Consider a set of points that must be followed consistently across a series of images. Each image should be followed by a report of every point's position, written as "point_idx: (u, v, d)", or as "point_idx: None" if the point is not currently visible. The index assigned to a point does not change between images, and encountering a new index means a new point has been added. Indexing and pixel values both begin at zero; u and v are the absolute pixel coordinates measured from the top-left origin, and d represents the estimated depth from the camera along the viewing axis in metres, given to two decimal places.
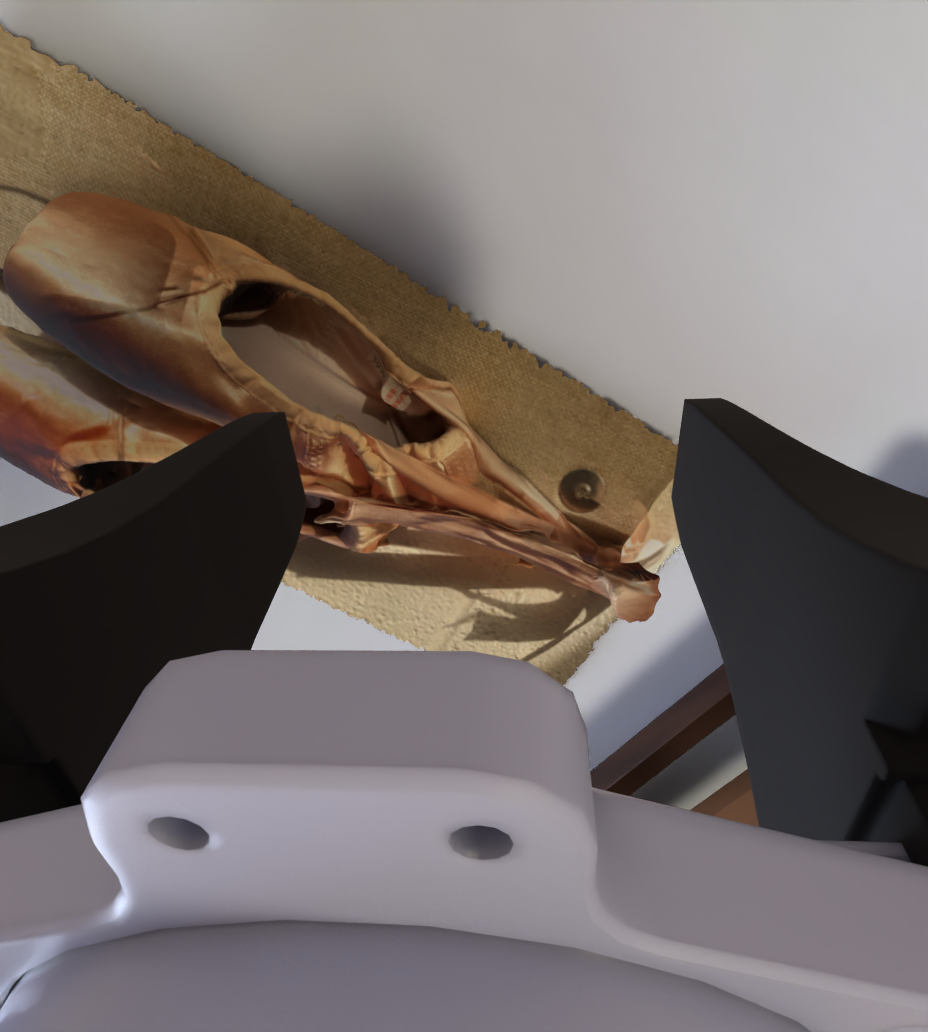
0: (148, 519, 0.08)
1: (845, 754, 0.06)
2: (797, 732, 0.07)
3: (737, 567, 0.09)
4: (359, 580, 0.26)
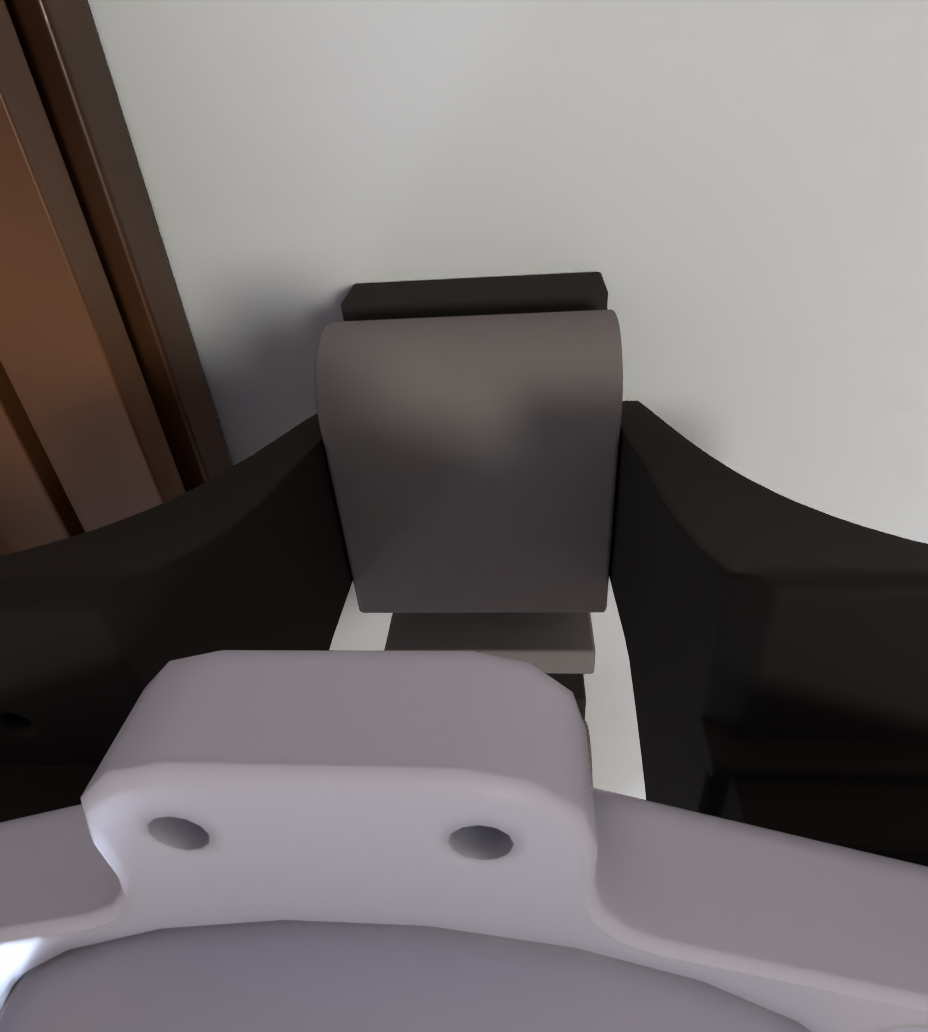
0: (254, 516, 0.08)
1: (692, 752, 0.06)
2: (668, 730, 0.07)
3: (635, 568, 0.09)
4: None
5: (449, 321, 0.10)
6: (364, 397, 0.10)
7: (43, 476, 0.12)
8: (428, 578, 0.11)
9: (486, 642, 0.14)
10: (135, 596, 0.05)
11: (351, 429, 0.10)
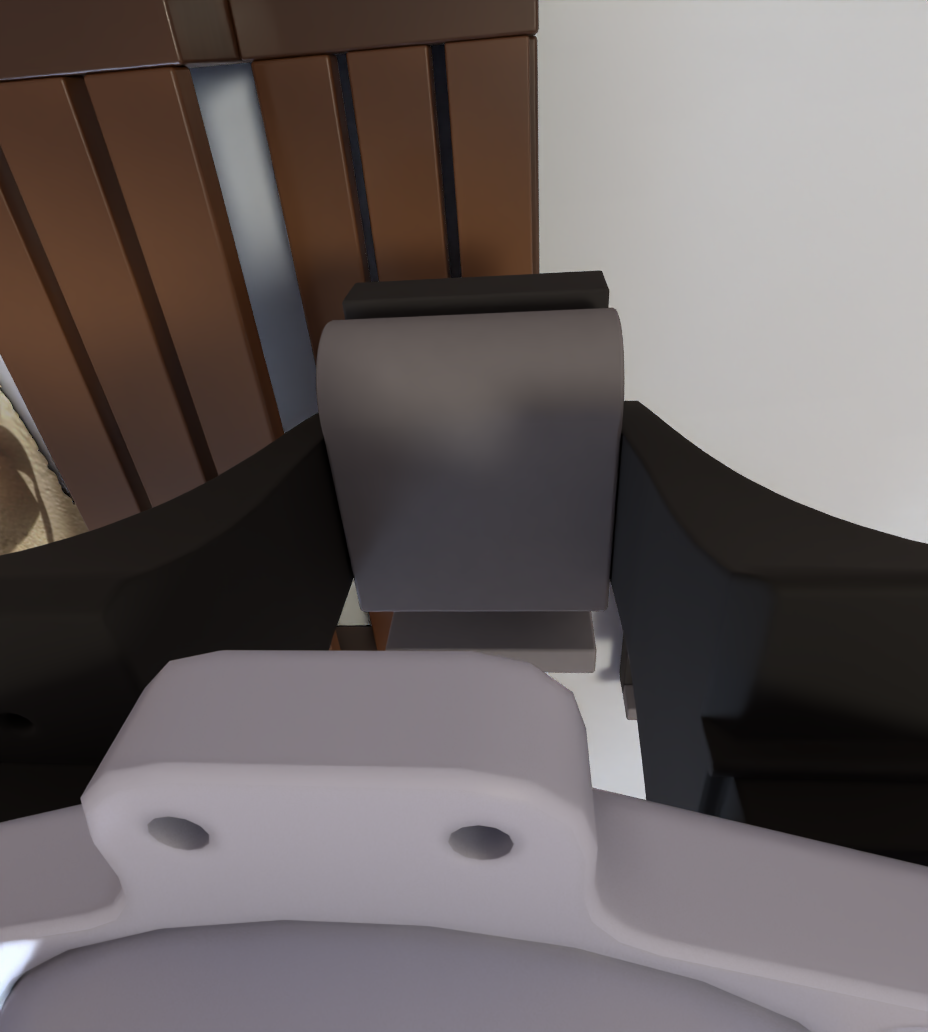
0: (253, 517, 0.08)
1: (692, 751, 0.06)
2: (668, 730, 0.07)
3: (635, 568, 0.09)
4: None
5: (450, 319, 0.10)
6: (365, 395, 0.10)
7: None
8: (429, 577, 0.11)
9: (487, 641, 0.14)
10: (135, 597, 0.05)
11: (352, 427, 0.10)
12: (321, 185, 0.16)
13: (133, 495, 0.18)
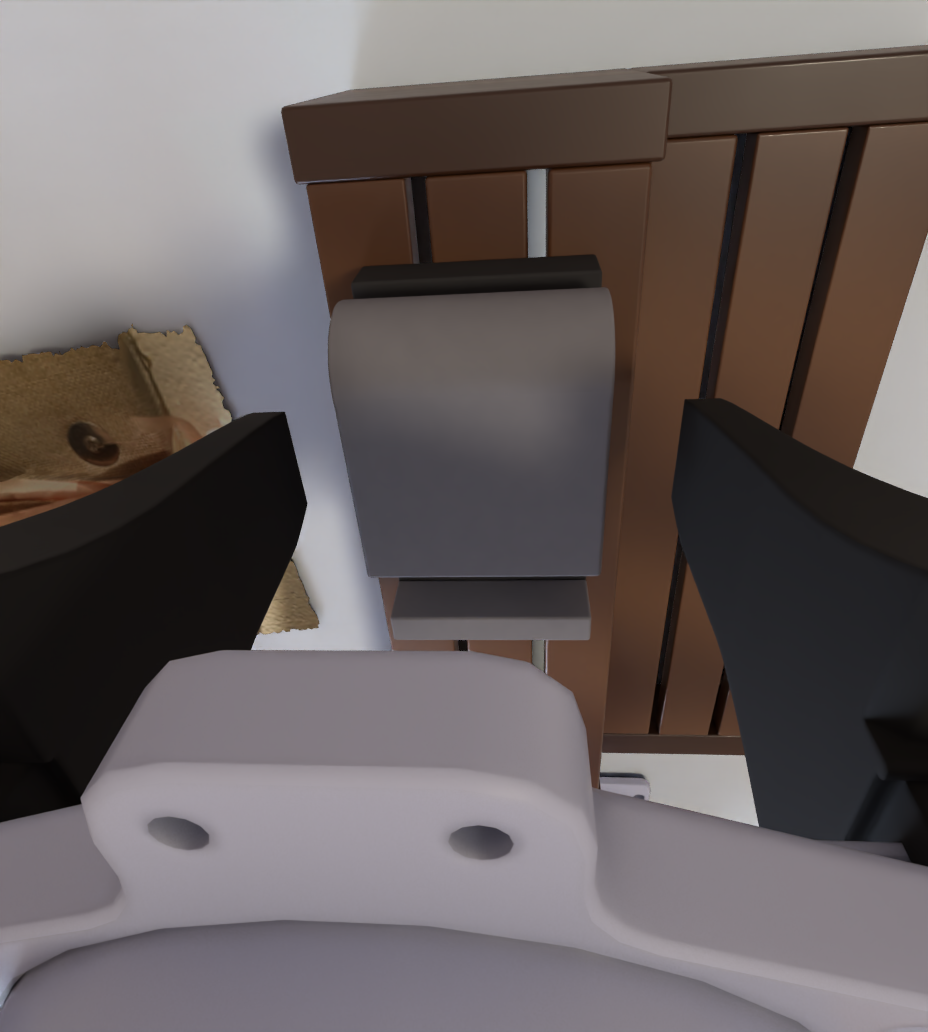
0: (149, 519, 0.08)
1: (845, 754, 0.06)
2: (797, 732, 0.07)
3: (737, 567, 0.09)
4: None
5: (453, 298, 0.10)
6: (374, 368, 0.10)
7: None
8: (433, 543, 0.12)
9: (487, 610, 0.15)
10: None
11: (361, 399, 0.10)
12: (688, 265, 0.15)
13: None
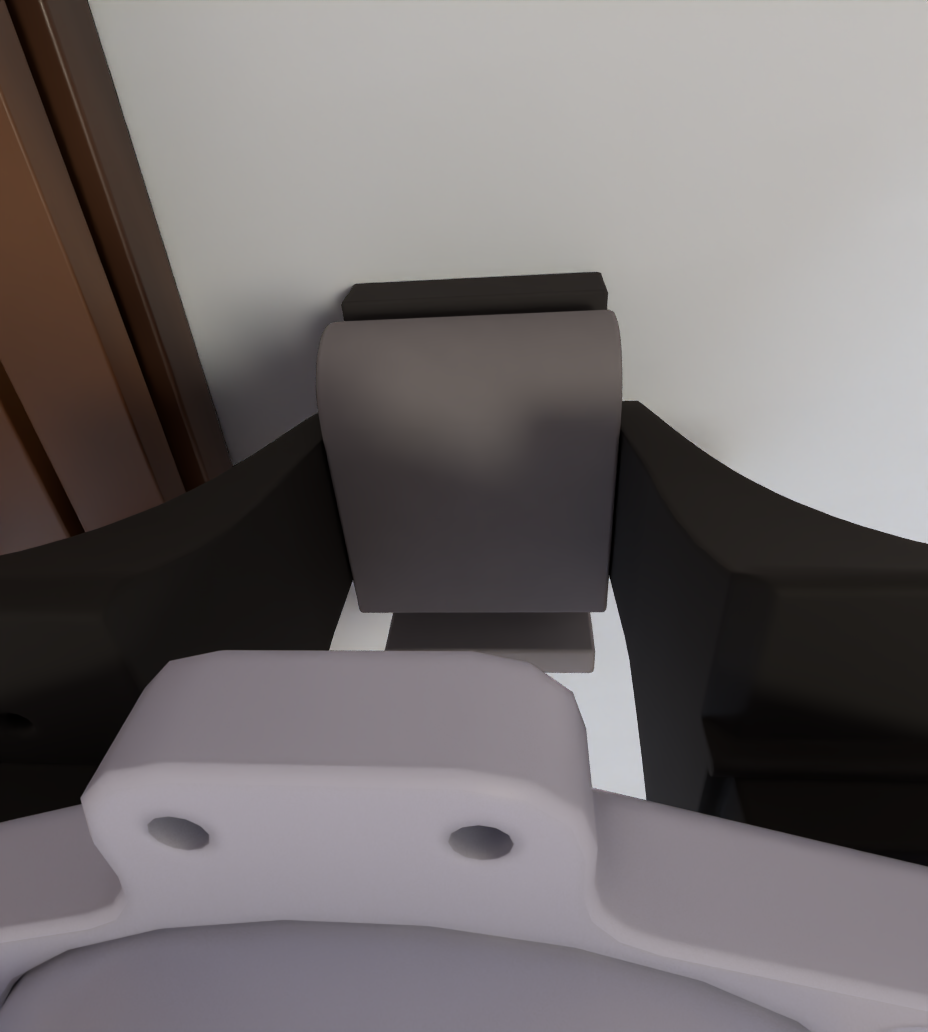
0: (254, 517, 0.08)
1: (692, 751, 0.06)
2: (668, 730, 0.07)
3: (635, 568, 0.09)
4: None
5: None
6: None
7: None
8: None
9: None
10: (134, 596, 0.05)
11: None
12: None
13: None
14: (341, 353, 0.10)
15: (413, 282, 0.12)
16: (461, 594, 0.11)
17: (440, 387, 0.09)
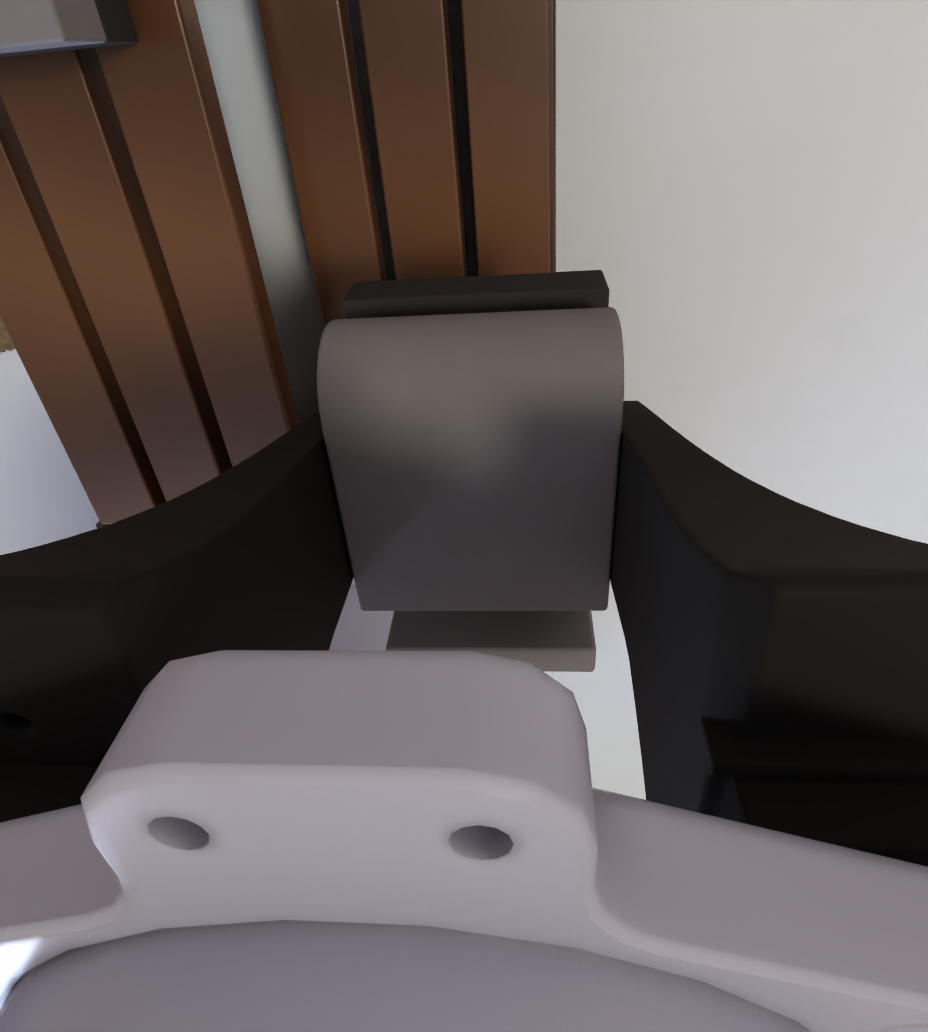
0: (254, 517, 0.08)
1: (692, 751, 0.06)
2: (668, 730, 0.07)
3: (635, 568, 0.09)
4: None
5: None
6: None
7: None
8: None
9: None
10: (135, 596, 0.05)
11: None
12: None
13: None
14: (342, 350, 0.10)
15: (414, 280, 0.12)
16: (462, 592, 0.11)
17: (441, 384, 0.09)
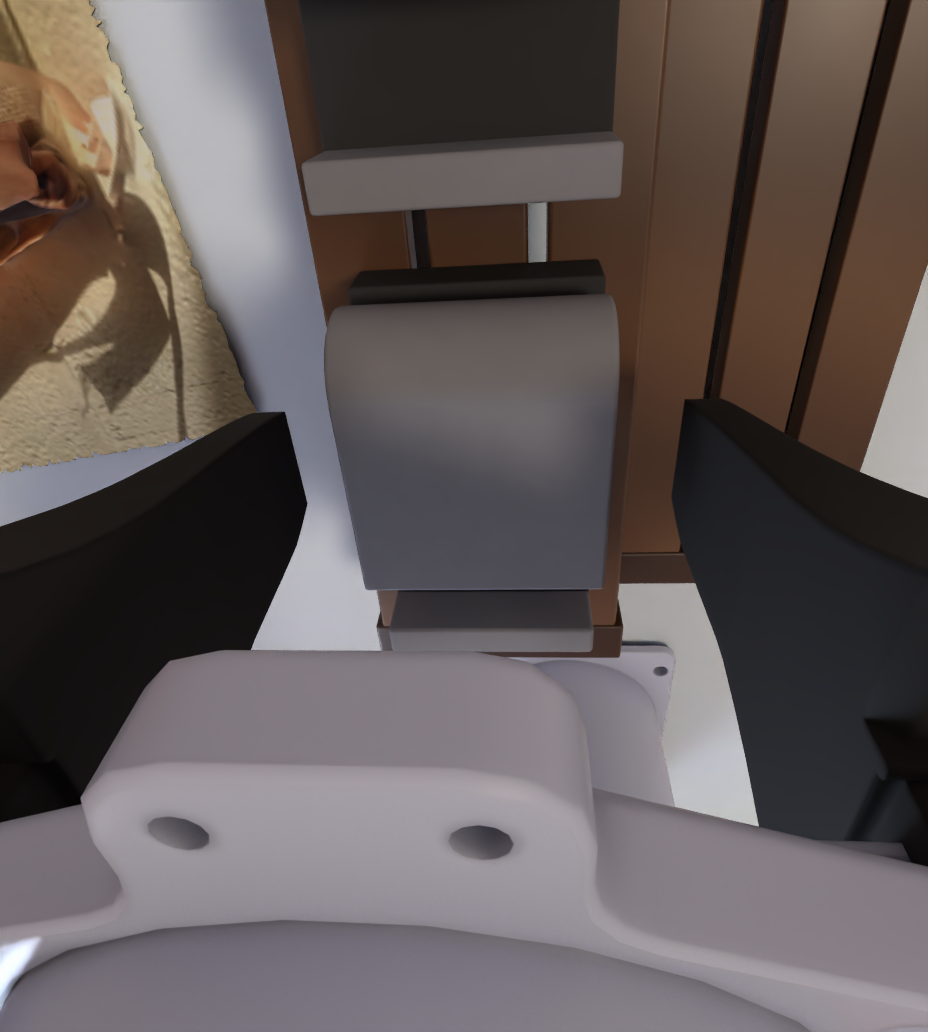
0: (149, 519, 0.08)
1: (845, 754, 0.06)
2: (797, 732, 0.07)
3: (737, 567, 0.09)
4: None
5: None
6: None
7: (875, 34, 0.12)
8: None
9: (456, 150, 0.09)
10: None
11: None
12: None
13: None
14: (349, 335, 0.10)
15: (417, 269, 0.12)
16: (464, 571, 0.12)
17: (444, 367, 0.10)
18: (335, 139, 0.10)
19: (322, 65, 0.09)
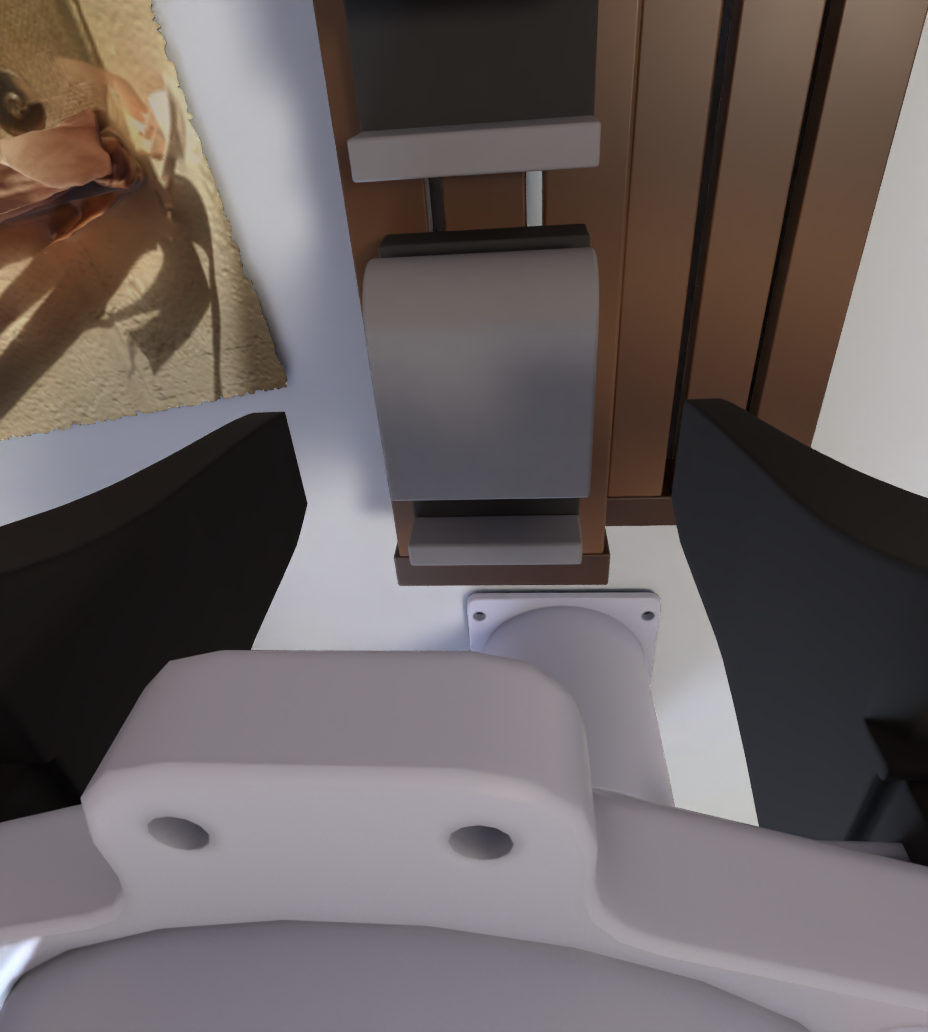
0: (148, 519, 0.08)
1: (845, 754, 0.06)
2: (797, 732, 0.07)
3: (737, 567, 0.09)
4: (28, 389, 0.24)
5: None
6: None
7: (815, 37, 0.15)
8: None
9: (470, 129, 0.12)
10: None
11: None
12: None
13: None
14: (382, 279, 0.12)
15: (434, 232, 0.14)
16: (473, 482, 0.14)
17: (459, 304, 0.12)
18: (371, 122, 0.12)
19: (362, 62, 0.12)
